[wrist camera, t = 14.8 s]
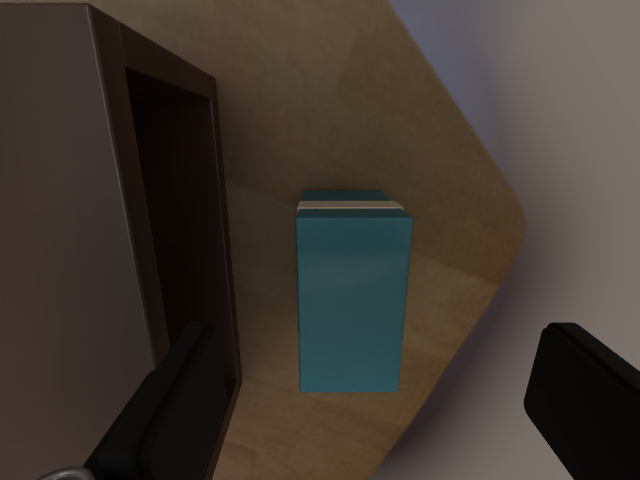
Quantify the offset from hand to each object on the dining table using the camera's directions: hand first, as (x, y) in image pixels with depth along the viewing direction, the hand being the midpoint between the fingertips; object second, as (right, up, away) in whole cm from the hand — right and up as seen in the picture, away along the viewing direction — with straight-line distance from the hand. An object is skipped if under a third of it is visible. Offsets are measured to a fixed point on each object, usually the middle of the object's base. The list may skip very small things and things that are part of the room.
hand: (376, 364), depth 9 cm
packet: (0, +3, +11) cm, 11 cm away
